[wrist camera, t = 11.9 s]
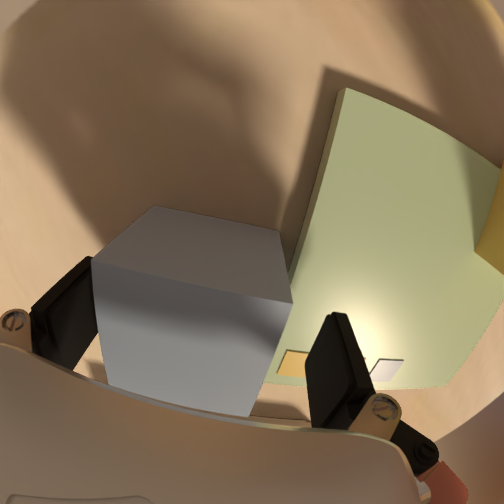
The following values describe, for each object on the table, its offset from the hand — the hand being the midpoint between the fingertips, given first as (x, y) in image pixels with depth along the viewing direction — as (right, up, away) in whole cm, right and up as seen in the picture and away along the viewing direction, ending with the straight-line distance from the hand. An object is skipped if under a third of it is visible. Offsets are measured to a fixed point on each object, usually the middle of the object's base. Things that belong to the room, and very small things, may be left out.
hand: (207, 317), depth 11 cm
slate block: (-1, +2, +3) cm, 4 cm away
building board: (+12, +1, +3) cm, 12 cm away
